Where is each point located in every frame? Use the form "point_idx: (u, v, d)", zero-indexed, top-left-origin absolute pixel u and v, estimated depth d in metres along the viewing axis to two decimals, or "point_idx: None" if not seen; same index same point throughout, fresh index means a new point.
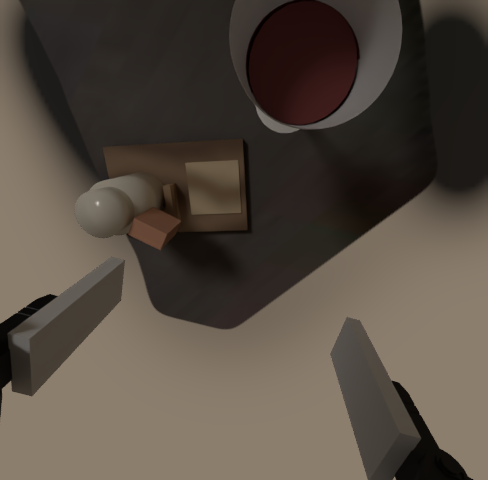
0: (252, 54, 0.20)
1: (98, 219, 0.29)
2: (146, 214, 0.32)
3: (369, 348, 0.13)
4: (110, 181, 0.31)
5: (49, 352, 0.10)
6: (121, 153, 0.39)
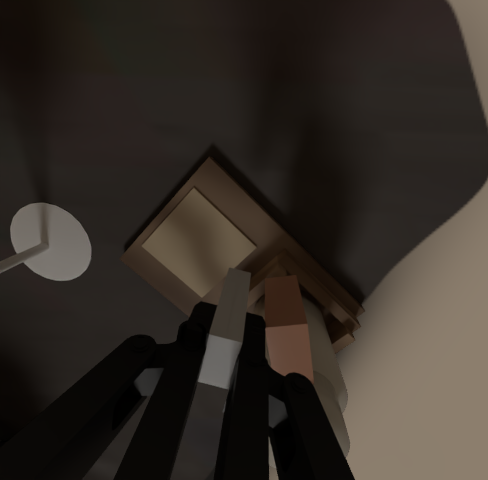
0: None
1: None
2: None
3: (243, 290, 0.15)
4: None
5: None
6: None
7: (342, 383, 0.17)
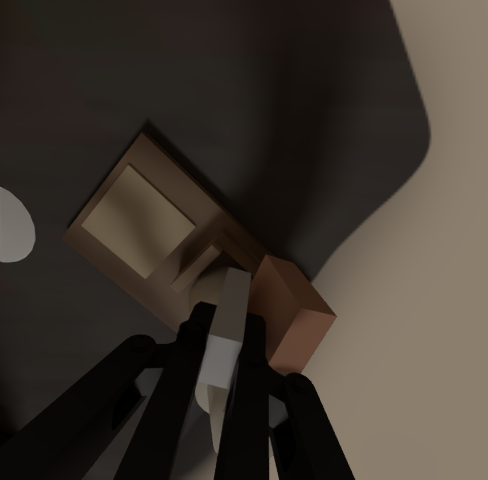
0: None
1: None
2: None
3: (243, 290, 0.15)
4: (197, 392, 0.16)
5: None
6: None
7: None
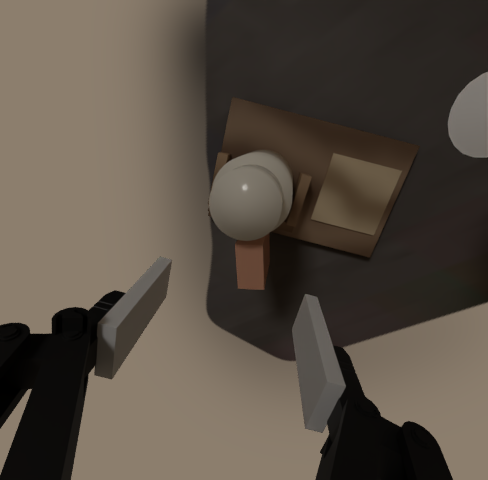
0: None
1: (238, 209, 0.19)
2: (265, 240, 0.23)
3: (319, 318, 0.14)
4: (287, 181, 0.21)
5: (124, 341, 0.12)
6: (254, 113, 0.28)
7: None
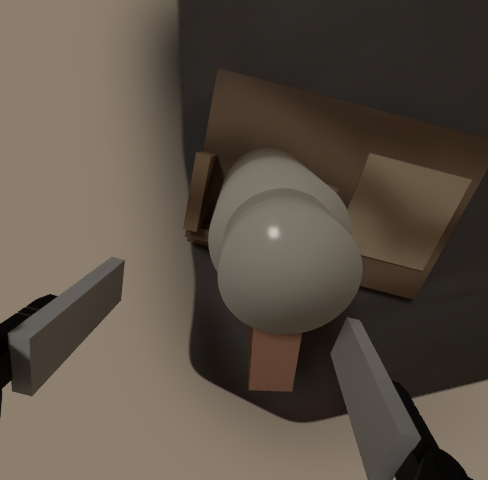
0: None
1: (277, 283, 0.10)
2: None
3: (369, 348, 0.13)
4: (347, 221, 0.12)
5: (49, 352, 0.10)
6: (251, 93, 0.19)
7: (214, 260, 0.13)
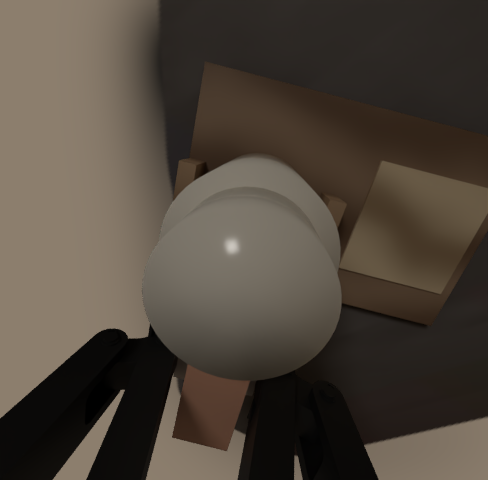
0: None
1: (222, 306, 0.07)
2: None
3: None
4: (336, 247, 0.10)
5: None
6: (244, 91, 0.16)
7: None
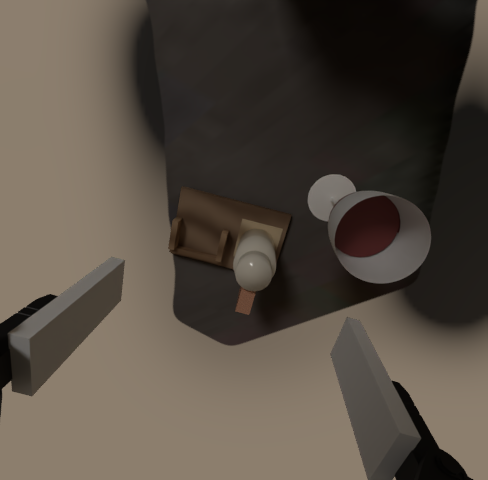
0: None
1: (250, 275, 0.39)
2: None
3: (369, 348, 0.13)
4: (275, 264, 0.41)
5: (49, 352, 0.10)
6: (194, 196, 0.48)
7: (233, 267, 0.42)
